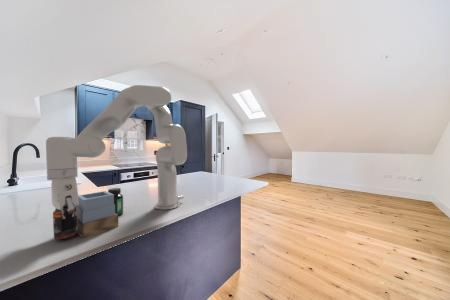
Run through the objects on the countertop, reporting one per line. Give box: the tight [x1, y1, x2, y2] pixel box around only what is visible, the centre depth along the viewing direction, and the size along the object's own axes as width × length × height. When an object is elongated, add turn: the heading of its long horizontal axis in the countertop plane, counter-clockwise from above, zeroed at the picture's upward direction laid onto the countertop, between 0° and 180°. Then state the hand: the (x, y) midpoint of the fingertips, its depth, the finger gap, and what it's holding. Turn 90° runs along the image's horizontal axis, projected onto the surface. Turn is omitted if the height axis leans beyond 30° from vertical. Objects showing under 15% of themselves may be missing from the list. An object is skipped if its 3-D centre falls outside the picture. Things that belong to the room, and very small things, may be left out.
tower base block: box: [76, 213, 119, 239], centre depth 68 cm, size 11×11×5 cm
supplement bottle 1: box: [52, 207, 78, 240], centre depth 60 cm, size 6×6×11 cm
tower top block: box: [76, 190, 115, 223], centre depth 68 cm, size 10×10×8 cm
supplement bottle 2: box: [107, 187, 124, 218], centre depth 81 cm, size 7×7×12 cm
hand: (64, 226), depth 59 cm, fingers closed on supplement bottle 1, 6 cm apart
